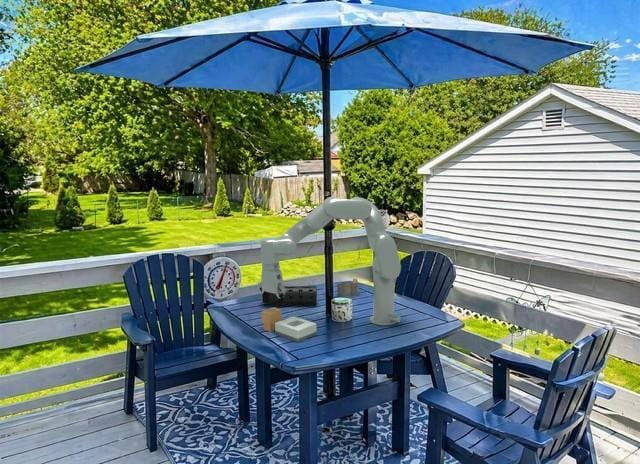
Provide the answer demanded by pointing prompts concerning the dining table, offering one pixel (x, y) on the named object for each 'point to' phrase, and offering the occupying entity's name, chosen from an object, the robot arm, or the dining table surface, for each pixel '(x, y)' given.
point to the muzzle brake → (296, 296)
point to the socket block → (295, 329)
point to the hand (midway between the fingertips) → (272, 304)
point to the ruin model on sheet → (347, 288)
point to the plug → (271, 318)
